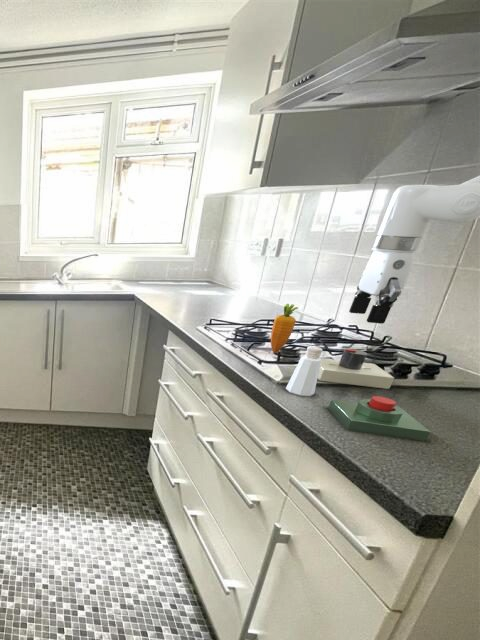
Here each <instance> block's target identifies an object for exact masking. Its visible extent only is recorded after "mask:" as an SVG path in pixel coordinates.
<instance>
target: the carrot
mask: <svg viewBox="0 0 480 640" xmlns="http://www.w3.org/2000/svg"><path fill="white" fill-rule="evenodd" d="M298 309H299V307H298V306H295V304H293V303H292V304H290V303H286V304H285V305H284V306H283V314H280V315H277V316H275V318H274V321H273V324H272V328H271V332H270V333H271V334H270V348H271V351H272V353H273V354H277V353H279V352H280V351H281V350H282V349H283V347H284V346H285V345H286V344H287V342H288V341H289V339H290V337H291V335H292V333H293V330H294V327H295V325H296V321H297V320H296V318H295V317H294V316H292V314H293V313H294V311H295V310H298Z"/></svg>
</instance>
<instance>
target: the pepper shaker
mask: <svg viewBox="0 0 480 640" xmlns="http://www.w3.org/2000/svg"><path fill="white" fill-rule="evenodd" d="M322 353H323V348H322V347H319V346H316V345H315V346H314V345H311V346H310V345H309V346H307V347H306V351H305V355H303V356H301V357H300V359H299V360H298V363H297V364H296V366H295V368H294V371H293V373H292V375H291V377H290V379H289V380H288V383H287V385H286V387H285V390H286V391H288V392H289V393H291V394H294V395H297V396H301V397H311V396H313V395H315V391H316V386H317V383H318V380H319V379H318V375H319V370H320V366H321V361H322V360H321V359H319V358H321V355H322Z"/></svg>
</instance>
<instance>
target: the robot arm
mask: <svg viewBox="0 0 480 640" xmlns="http://www.w3.org/2000/svg"><path fill="white" fill-rule="evenodd" d="M391 196H392V197H391V199H390V201H389V204H388V206H387V208H386V212H385V214H384V216H383V219H382V222H381V224H380V227H379V230H378V231H377V234H376V237H375V240H374V242H373V245H372V247H371V251H372V253H371V255H370V257H369V259H368V261H367V264H366V265H365V268H364V270H363V272H362V275H361V277H360V278H359V280H358V281H359V282H358V285H357V287H356V292H355V293H354V298H353V300H352V303H351V305H350V308H349V312H348V313H351V314H357V315H358V314H360V315H365V314H366V313H367V310H368V308H369V305H370V303H371V300H372V298H371V296H373V297H375V304H372V306H371V308H370V311H369V313H368V315H367V318H366V322H367V323H371V324H381V325H383V324H385V323H386V320H387V318H388V315H389V313H390V311H391V309H392V308H393V307H394V304H395V302H396V301H397V300H398V298H399V297H400V296H402V294H403V291H404V289H405V287H406V284H407V282H408V278H409V275H410V273H411V270H412V266H413V264H414V258H415V254H416V253H417V251H418V249H419V247H420V244H421V242H422V240H423V237H424V234H425V233H426V230H427V228H428V226H429V223H430V221H440V222H446V223H453V224H461V223H468V222H471V221H474V220H477V219H479V218H480V175H477V176H476V177H473V178H470V179H469V180H467V181H464V182H462V183H460V184H451V185H439V184H438V185H437V184H406V185H401V186H399V187H397V188H396V189H395V190H394V192H393V194H392V195H391Z"/></svg>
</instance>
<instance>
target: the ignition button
mask: <svg viewBox="0 0 480 640" xmlns="http://www.w3.org/2000/svg"><path fill="white" fill-rule="evenodd" d="M370 399H371V400H370V402H369V406H371V407H373V408H376V409H380V410H384V411H393V409H394V407H395V406H397V402H396V401H395V400H393V399H391V398H388V397H384V396H378V395H375V396H371V398H370Z"/></svg>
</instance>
